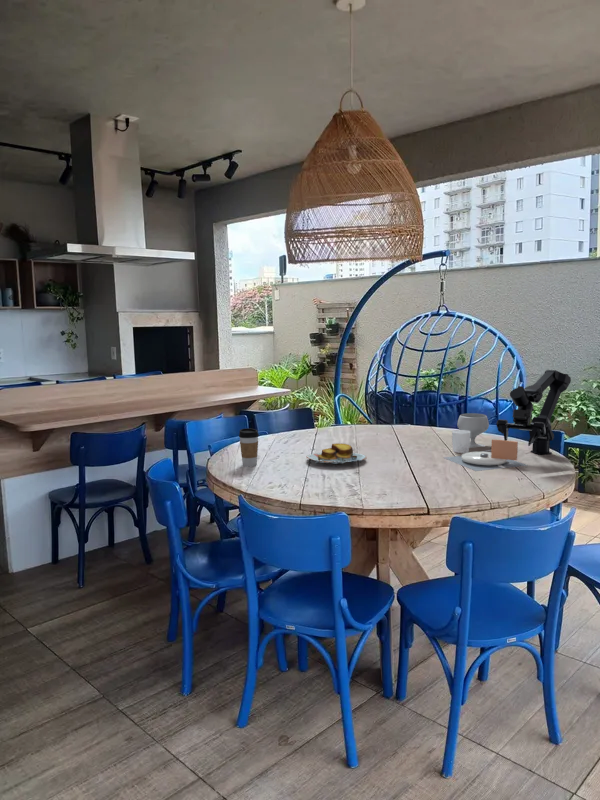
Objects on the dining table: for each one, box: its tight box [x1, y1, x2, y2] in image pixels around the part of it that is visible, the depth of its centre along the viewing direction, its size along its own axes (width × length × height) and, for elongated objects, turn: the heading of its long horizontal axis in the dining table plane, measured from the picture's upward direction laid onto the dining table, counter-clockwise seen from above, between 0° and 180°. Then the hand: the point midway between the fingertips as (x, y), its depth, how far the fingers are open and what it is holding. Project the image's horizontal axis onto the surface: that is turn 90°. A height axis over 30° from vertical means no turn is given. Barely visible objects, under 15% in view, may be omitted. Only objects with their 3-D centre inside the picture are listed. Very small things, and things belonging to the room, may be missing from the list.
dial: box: [461, 438, 519, 465], centre depth 252 cm, size 18×19×9 cm
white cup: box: [451, 429, 471, 454], centre depth 271 cm, size 8×8×10 cm
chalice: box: [456, 412, 490, 449], centre depth 283 cm, size 14×14×15 cm
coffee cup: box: [238, 427, 260, 468], centre depth 258 cm, size 8×8×15 cm
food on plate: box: [306, 442, 368, 465], centre depth 263 cm, size 25×25×7 cm
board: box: [443, 455, 528, 472], centre depth 253 cm, size 24×24×1 cm
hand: (516, 444), depth 249 cm, fingers open, 9 cm apart
